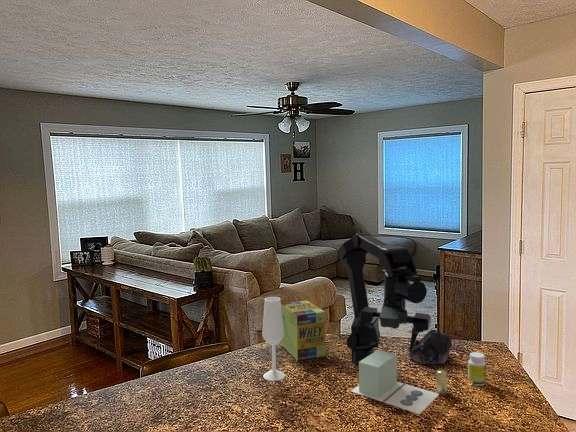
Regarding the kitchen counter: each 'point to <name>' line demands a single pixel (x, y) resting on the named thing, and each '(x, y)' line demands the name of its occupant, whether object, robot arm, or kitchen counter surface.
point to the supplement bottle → (477, 369)
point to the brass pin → (441, 382)
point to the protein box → (303, 330)
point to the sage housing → (377, 373)
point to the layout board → (405, 397)
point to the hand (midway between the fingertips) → (394, 347)
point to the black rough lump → (431, 348)
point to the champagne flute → (273, 332)
